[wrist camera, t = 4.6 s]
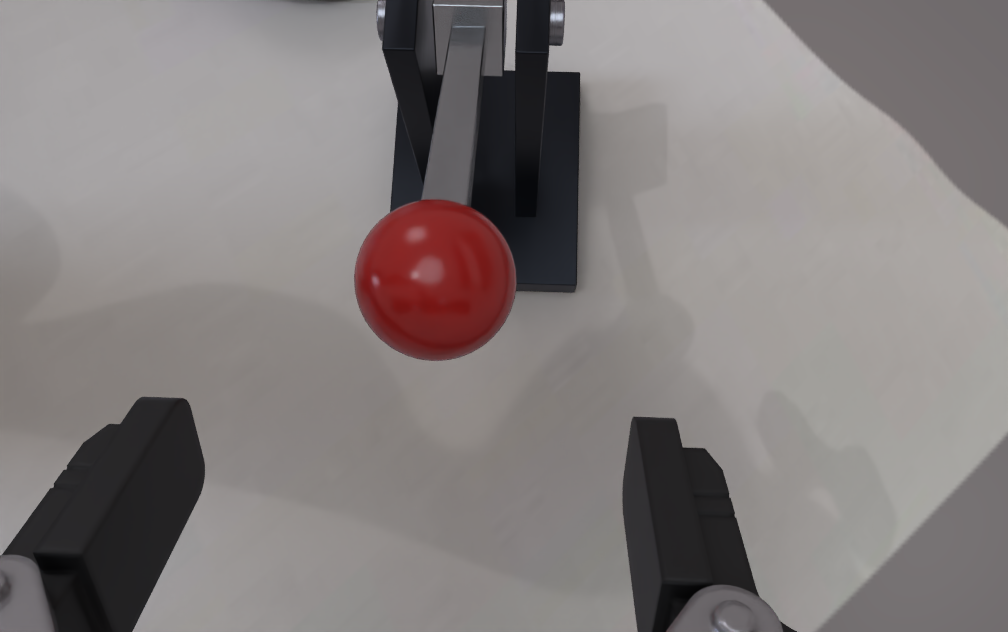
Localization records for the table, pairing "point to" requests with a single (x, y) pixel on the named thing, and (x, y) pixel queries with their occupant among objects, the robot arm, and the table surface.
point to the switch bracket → (498, 136)
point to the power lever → (444, 213)
